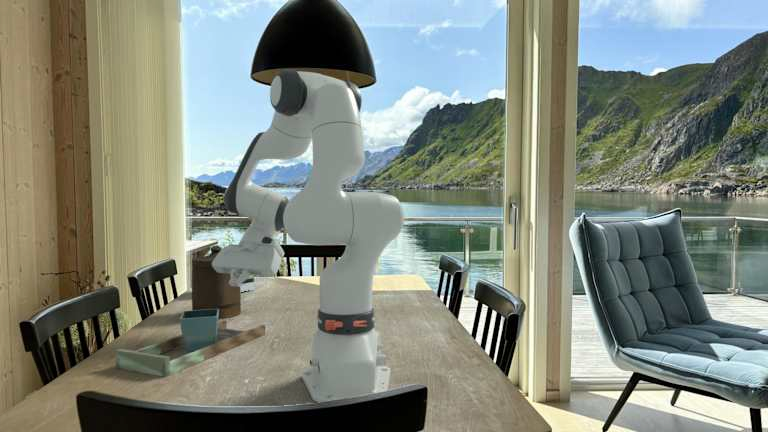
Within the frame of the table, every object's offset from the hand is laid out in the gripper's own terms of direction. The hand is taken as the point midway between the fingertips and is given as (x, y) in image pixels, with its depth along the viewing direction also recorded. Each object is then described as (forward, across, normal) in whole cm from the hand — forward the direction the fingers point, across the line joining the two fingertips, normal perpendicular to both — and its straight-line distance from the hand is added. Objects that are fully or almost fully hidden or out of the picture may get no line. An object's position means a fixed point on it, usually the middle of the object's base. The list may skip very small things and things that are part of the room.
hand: (234, 285), depth 144 cm
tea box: (-24, -40, +45) cm, 65 cm away
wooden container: (-3, -22, +23) cm, 31 cm away
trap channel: (+19, 0, 0) cm, 19 cm away
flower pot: (+19, 0, 0) cm, 19 cm away
